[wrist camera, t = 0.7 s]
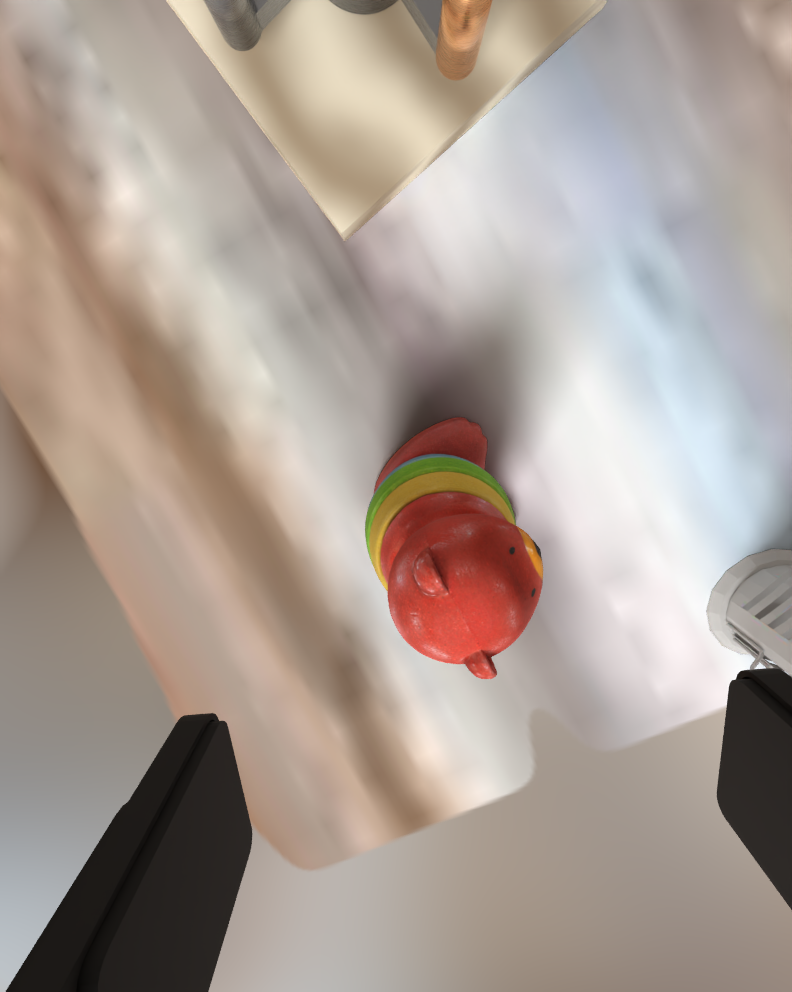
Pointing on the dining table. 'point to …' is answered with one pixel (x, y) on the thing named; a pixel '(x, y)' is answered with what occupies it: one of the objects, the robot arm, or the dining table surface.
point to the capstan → (432, 4)
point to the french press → (756, 609)
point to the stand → (374, 89)
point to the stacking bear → (452, 549)
